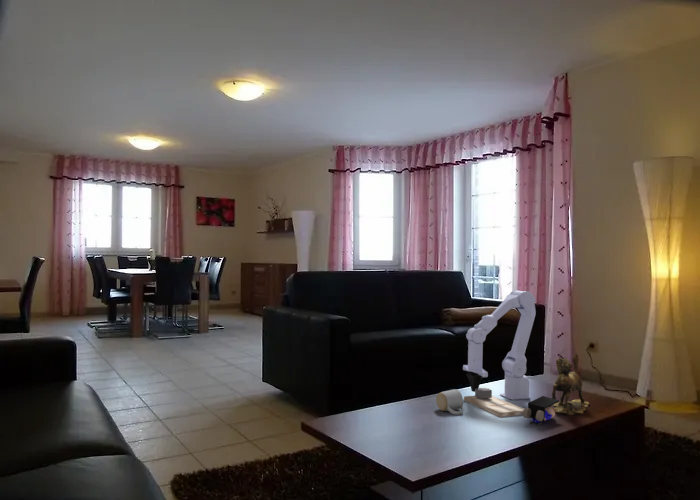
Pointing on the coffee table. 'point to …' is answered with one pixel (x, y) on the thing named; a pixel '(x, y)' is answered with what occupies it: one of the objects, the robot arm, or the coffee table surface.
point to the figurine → (568, 388)
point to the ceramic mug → (450, 401)
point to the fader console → (495, 406)
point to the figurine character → (540, 409)
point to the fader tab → (483, 393)
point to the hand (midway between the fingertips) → (474, 391)
